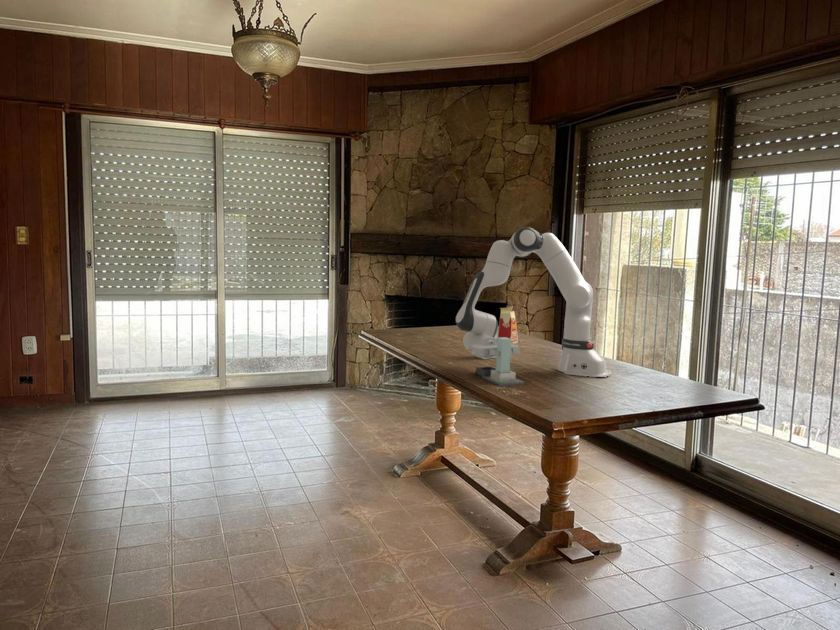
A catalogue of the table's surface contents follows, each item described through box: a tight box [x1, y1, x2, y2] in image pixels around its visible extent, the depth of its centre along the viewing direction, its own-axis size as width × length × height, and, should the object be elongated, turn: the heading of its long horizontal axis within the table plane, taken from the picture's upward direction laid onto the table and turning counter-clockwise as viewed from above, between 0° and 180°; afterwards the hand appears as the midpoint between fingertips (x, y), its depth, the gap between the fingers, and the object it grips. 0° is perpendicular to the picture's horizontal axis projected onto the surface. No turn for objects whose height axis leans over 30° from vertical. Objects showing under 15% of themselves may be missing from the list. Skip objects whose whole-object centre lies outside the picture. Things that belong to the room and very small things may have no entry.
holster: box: [475, 366, 496, 377], centre depth 264 cm, size 7×7×2 cm
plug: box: [495, 337, 512, 373], centre depth 252 cm, size 4×4×14 cm
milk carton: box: [497, 305, 519, 344], centre depth 343 cm, size 9×9×20 cm
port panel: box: [481, 370, 525, 387], centre depth 254 cm, size 14×11×4 cm
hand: (504, 353), depth 252 cm, fingers closed on plug, 4 cm apart
